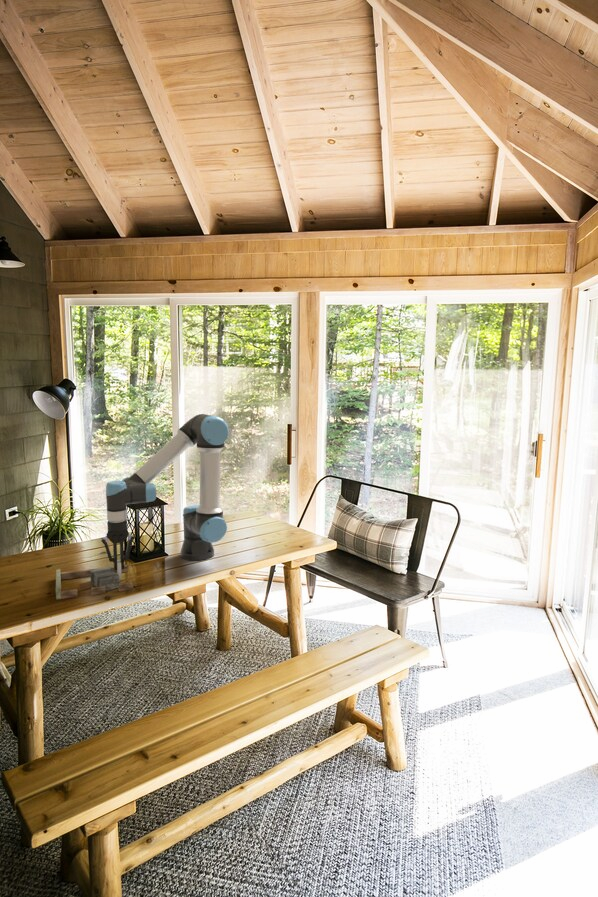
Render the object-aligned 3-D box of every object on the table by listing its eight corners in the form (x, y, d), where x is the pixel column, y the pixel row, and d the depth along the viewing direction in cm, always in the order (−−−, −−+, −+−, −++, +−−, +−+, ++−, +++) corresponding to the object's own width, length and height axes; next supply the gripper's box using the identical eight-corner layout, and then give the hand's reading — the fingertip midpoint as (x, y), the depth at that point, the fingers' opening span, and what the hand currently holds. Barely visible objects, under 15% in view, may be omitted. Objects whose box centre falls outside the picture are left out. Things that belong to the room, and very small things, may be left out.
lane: (126, 570, 259) (126, 561, 258) (132, 589, 238) (132, 579, 237) (56, 579, 249) (56, 569, 249) (56, 599, 228) (55, 589, 227)
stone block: (112, 577, 252) (112, 565, 251) (123, 588, 240) (122, 575, 239) (90, 581, 247) (90, 569, 246) (100, 592, 235) (99, 579, 234)
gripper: (133, 516, 249) (135, 572, 252) (99, 519, 244) (101, 576, 248) (135, 521, 242) (137, 578, 245) (100, 524, 237) (103, 582, 241)
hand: (119, 577), depth 247 cm, fingers closed
